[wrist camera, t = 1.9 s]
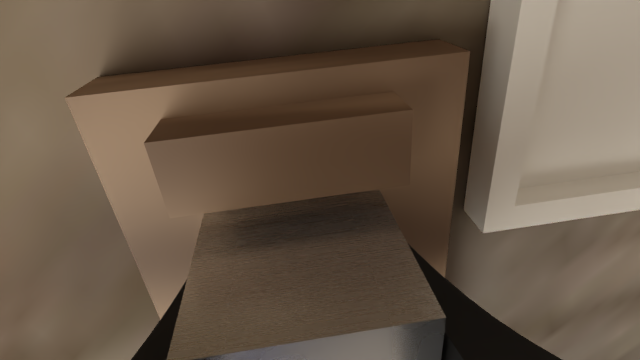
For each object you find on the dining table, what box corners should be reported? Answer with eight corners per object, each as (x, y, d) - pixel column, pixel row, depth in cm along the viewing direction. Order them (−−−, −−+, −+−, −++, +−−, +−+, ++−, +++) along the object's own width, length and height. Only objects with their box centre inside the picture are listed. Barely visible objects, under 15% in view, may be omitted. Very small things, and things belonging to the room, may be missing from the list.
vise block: (418, 329, 18) (474, 460, 13) (205, 364, 17) (182, 516, 12) (439, 39, 11) (565, 88, 7) (97, 76, 11) (-40, 163, 6)
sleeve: (376, 301, 14) (429, 456, 9) (238, 323, 13) (225, 494, 9) (375, 182, 11) (445, 317, 7) (205, 205, 11) (165, 363, 6)
